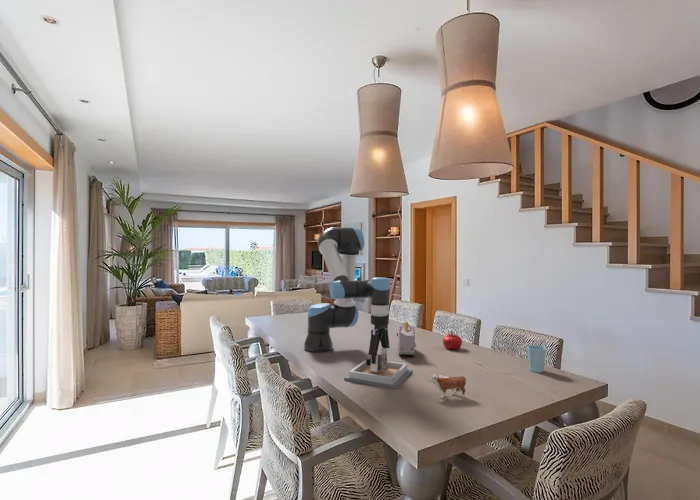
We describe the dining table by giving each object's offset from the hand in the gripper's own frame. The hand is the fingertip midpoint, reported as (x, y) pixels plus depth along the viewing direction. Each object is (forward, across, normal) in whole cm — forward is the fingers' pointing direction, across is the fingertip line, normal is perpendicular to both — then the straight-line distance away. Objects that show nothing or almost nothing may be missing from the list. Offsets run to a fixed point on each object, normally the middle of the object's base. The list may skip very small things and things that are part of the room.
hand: (379, 367), depth 158 cm
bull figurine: (+4, -10, -30) cm, 32 cm away
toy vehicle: (+4, +40, 0) cm, 40 cm away
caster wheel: (+1, 0, +1) cm, 2 cm away
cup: (+4, +38, -60) cm, 71 cm away
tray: (+4, 0, 0) cm, 4 cm away
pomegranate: (+4, +60, -20) cm, 63 cm away
